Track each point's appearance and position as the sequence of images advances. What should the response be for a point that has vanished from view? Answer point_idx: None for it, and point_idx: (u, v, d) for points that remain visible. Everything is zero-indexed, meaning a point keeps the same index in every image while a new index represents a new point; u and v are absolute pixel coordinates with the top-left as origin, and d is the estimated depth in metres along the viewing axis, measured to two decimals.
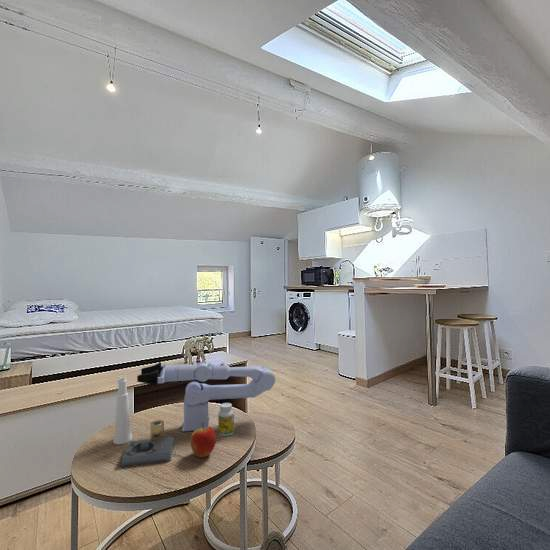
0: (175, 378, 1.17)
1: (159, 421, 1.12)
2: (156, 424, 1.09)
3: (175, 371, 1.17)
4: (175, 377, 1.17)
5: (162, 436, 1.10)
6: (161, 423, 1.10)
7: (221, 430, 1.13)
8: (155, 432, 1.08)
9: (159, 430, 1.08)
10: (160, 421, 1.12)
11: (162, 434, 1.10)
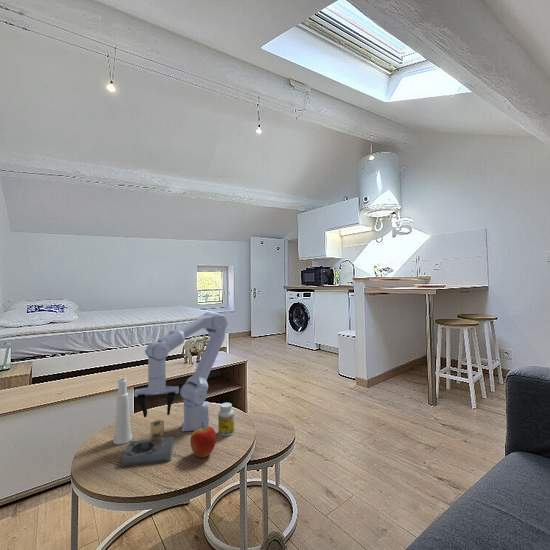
0: None
1: (159, 421, 1.12)
2: (156, 424, 1.09)
3: (163, 378, 1.10)
4: None
5: (162, 436, 1.10)
6: (161, 423, 1.10)
7: (221, 430, 1.13)
8: (155, 432, 1.08)
9: (159, 430, 1.08)
10: (160, 421, 1.12)
11: (162, 434, 1.10)
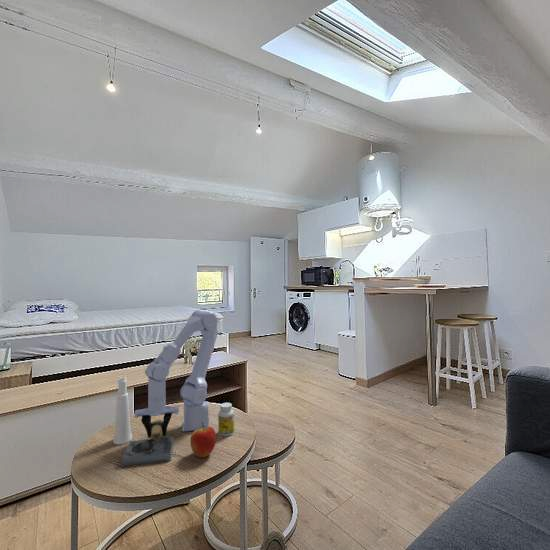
0: None
1: (159, 421, 1.12)
2: (156, 424, 1.09)
3: (163, 399, 1.09)
4: (165, 397, 1.12)
5: (162, 436, 1.10)
6: (161, 423, 1.10)
7: (221, 430, 1.13)
8: (155, 432, 1.08)
9: (159, 430, 1.08)
10: (160, 421, 1.12)
11: (162, 434, 1.10)
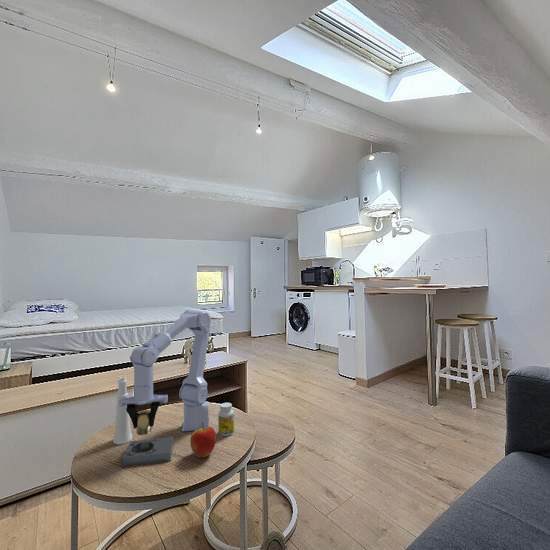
0: None
1: (146, 411, 1.03)
2: (142, 414, 1.01)
3: (151, 387, 1.01)
4: None
5: (149, 427, 1.01)
6: (148, 413, 1.01)
7: (221, 430, 1.13)
8: (141, 422, 0.99)
9: (145, 421, 1.00)
10: (147, 411, 1.03)
11: (149, 425, 1.01)
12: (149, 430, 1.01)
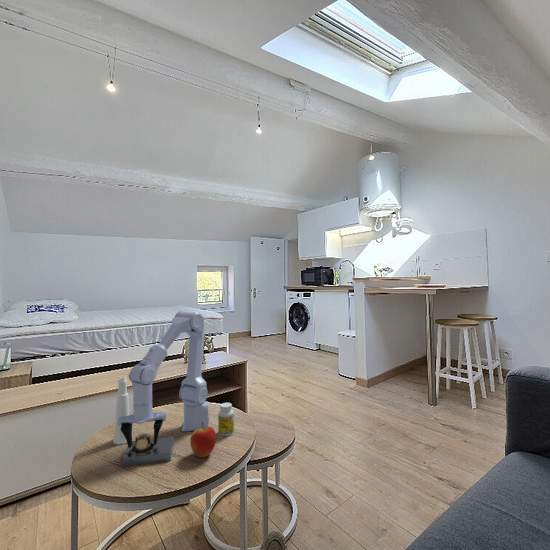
0: None
1: (145, 434, 1.02)
2: (141, 438, 1.00)
3: (150, 405, 1.00)
4: None
5: None
6: (147, 437, 1.01)
7: (221, 430, 1.13)
8: (140, 447, 0.99)
9: (144, 445, 0.99)
10: (146, 434, 1.02)
11: (148, 449, 1.00)
12: None
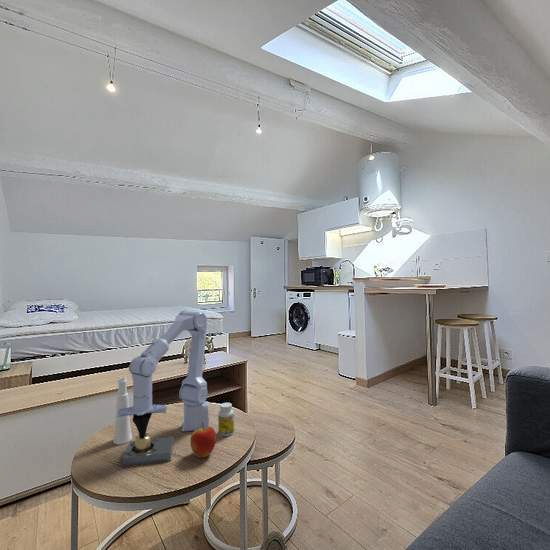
0: None
1: None
2: (141, 438, 1.00)
3: (149, 397, 1.00)
4: None
5: None
6: (147, 437, 1.01)
7: (221, 430, 1.13)
8: (140, 447, 0.99)
9: (144, 445, 0.99)
10: (146, 434, 1.02)
11: (148, 449, 1.00)
12: None
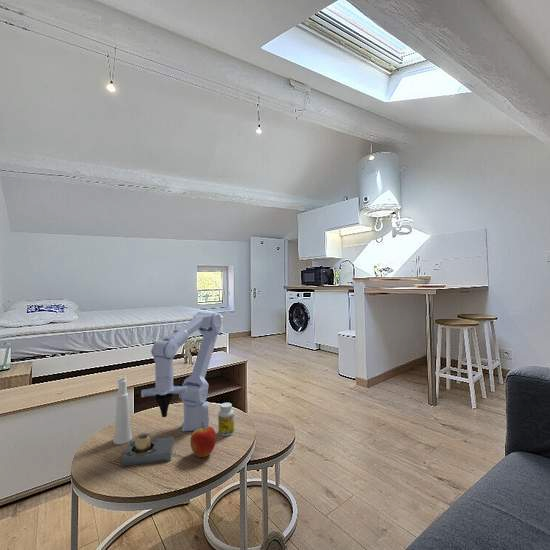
0: None
1: (145, 434, 1.02)
2: (141, 438, 1.00)
3: (171, 378, 1.06)
4: None
5: None
6: (147, 437, 1.01)
7: (221, 430, 1.13)
8: (140, 447, 0.99)
9: (144, 445, 0.99)
10: (146, 434, 1.02)
11: (148, 449, 1.00)
12: None
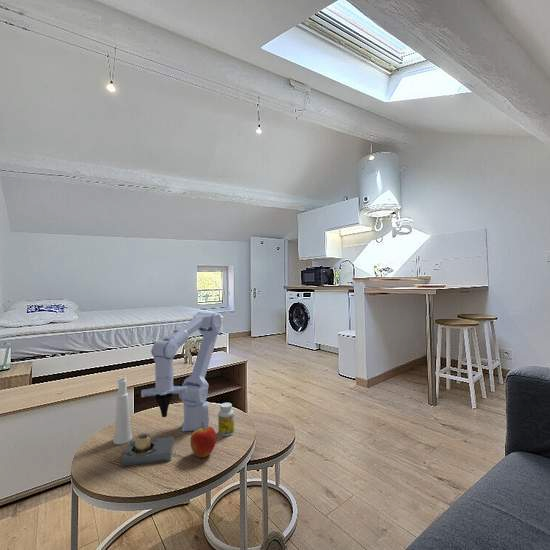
0: None
1: (145, 434, 1.02)
2: (141, 438, 1.00)
3: (171, 378, 1.06)
4: None
5: None
6: (147, 437, 1.01)
7: (221, 430, 1.13)
8: (140, 447, 0.99)
9: (144, 445, 0.99)
10: (146, 434, 1.02)
11: (148, 449, 1.00)
12: None
